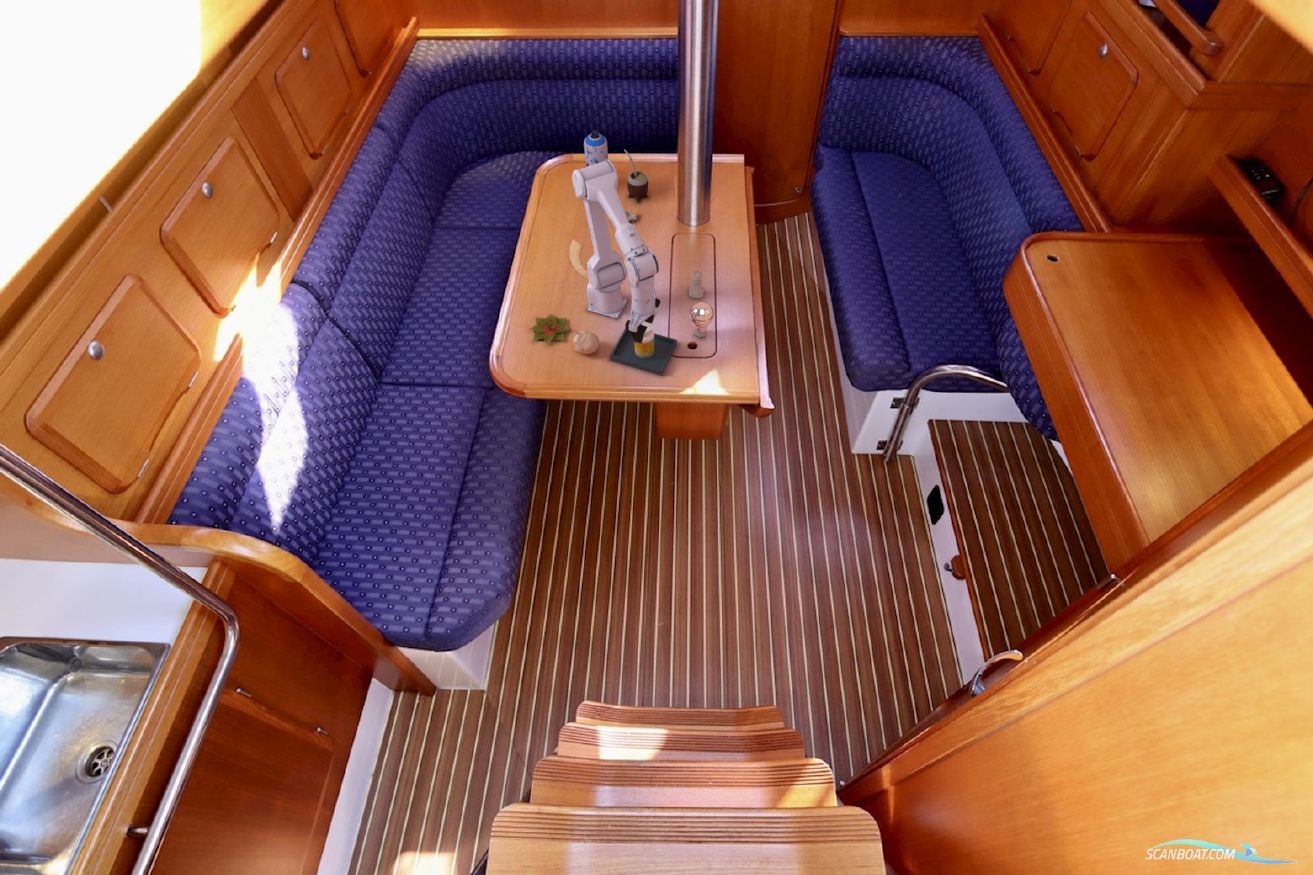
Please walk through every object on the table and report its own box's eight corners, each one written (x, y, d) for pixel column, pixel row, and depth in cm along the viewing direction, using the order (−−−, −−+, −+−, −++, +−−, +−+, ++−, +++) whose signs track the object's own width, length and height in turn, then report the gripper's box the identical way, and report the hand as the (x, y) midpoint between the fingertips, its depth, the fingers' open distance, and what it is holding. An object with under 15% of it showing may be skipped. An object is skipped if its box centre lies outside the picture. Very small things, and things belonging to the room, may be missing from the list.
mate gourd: (648, 203, 217) (647, 162, 204) (624, 203, 217) (622, 162, 204) (648, 189, 221) (648, 149, 209) (625, 189, 221) (623, 148, 209)
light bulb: (704, 348, 181) (707, 317, 171) (683, 338, 183) (684, 307, 173) (716, 332, 184) (719, 302, 174) (695, 323, 186) (697, 292, 176)
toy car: (638, 221, 212) (637, 214, 209) (614, 225, 211) (613, 217, 208) (635, 214, 214) (635, 207, 211) (611, 218, 213) (611, 210, 210)
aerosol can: (585, 182, 223) (580, 126, 207) (608, 178, 224) (604, 123, 208) (589, 195, 219) (584, 140, 202) (612, 192, 220) (609, 137, 204)
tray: (610, 360, 178) (609, 355, 177) (627, 330, 185) (626, 325, 183) (661, 376, 175) (661, 371, 174) (677, 344, 182) (677, 339, 180)
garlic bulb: (584, 338, 183) (581, 318, 176) (603, 347, 181) (601, 327, 175) (571, 353, 180) (568, 334, 173) (590, 362, 178) (587, 343, 171)
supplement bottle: (652, 360, 178) (651, 335, 170) (632, 357, 179) (631, 332, 170) (656, 345, 181) (656, 321, 173) (637, 342, 182) (636, 318, 173)
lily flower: (569, 346, 181) (567, 335, 177) (526, 346, 181) (523, 334, 178) (573, 315, 188) (571, 304, 184) (532, 315, 188) (529, 303, 184)
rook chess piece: (705, 290, 194) (707, 270, 187) (701, 300, 191) (702, 280, 185) (691, 287, 195) (692, 266, 188) (686, 297, 192) (687, 276, 186)
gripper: (647, 318, 157) (647, 355, 169) (667, 279, 165) (666, 317, 176) (620, 310, 159) (622, 347, 170) (642, 272, 166) (642, 310, 178)
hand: (643, 331), depth 173 cm, fingers open, 7 cm apart
